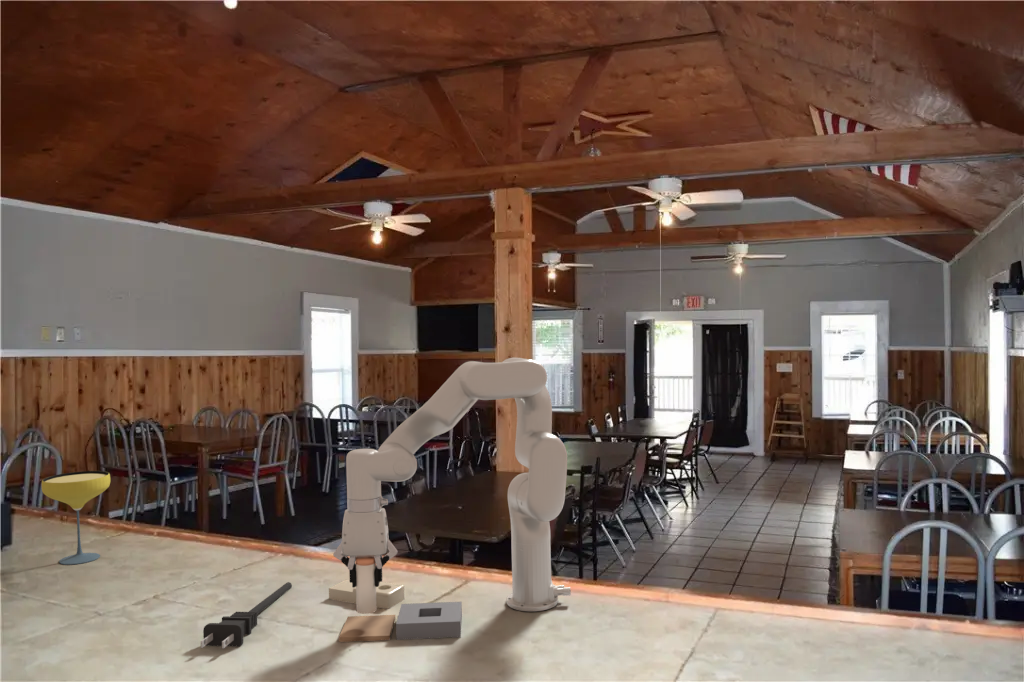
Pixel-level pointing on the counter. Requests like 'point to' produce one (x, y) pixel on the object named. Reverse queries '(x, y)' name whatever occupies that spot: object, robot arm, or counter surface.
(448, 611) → the socket block
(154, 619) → the counter surface
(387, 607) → the electrical outlet
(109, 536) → the counter surface
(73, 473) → the cocktail glass
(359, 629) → the board
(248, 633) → the electrical plug
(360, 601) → the plug
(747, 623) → the counter surface
